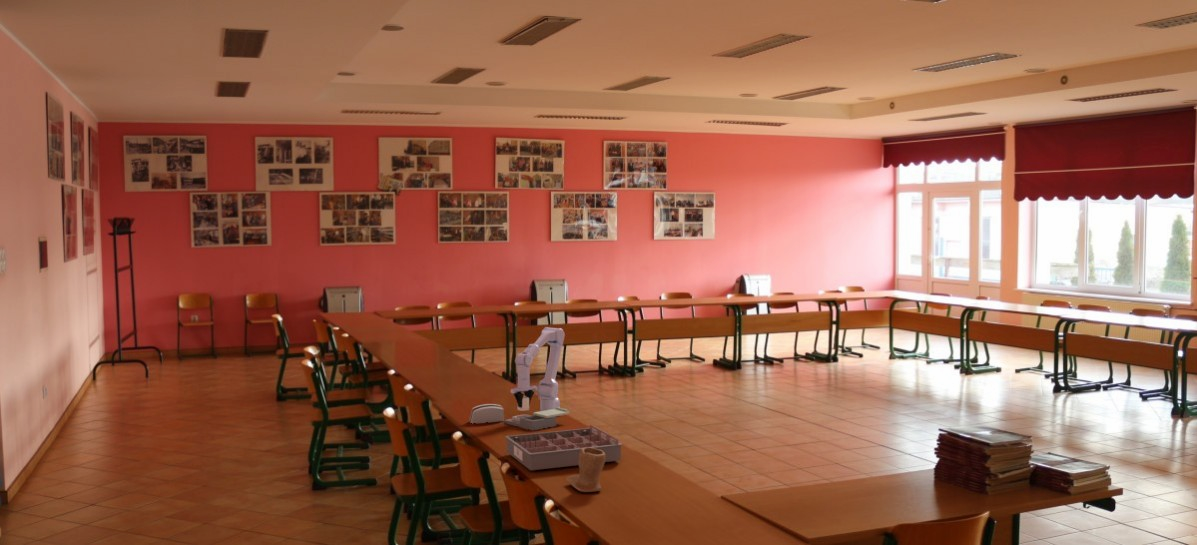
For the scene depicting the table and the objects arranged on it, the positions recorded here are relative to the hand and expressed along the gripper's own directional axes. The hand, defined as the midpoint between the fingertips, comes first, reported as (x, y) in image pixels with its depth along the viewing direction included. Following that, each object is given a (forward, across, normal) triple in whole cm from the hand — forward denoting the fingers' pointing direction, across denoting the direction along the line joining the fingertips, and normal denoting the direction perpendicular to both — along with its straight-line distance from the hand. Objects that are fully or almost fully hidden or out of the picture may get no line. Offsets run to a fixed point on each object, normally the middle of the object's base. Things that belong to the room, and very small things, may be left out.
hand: (523, 406), depth 453 cm
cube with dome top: (+2, 0, 0) cm, 2 cm away
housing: (+8, 0, +5) cm, 9 cm away
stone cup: (+8, +49, +101) cm, 113 cm away
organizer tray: (+8, +29, +63) cm, 70 cm away
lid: (+3, -8, +11) cm, 14 cm away
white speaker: (+8, +12, -14) cm, 20 cm away
